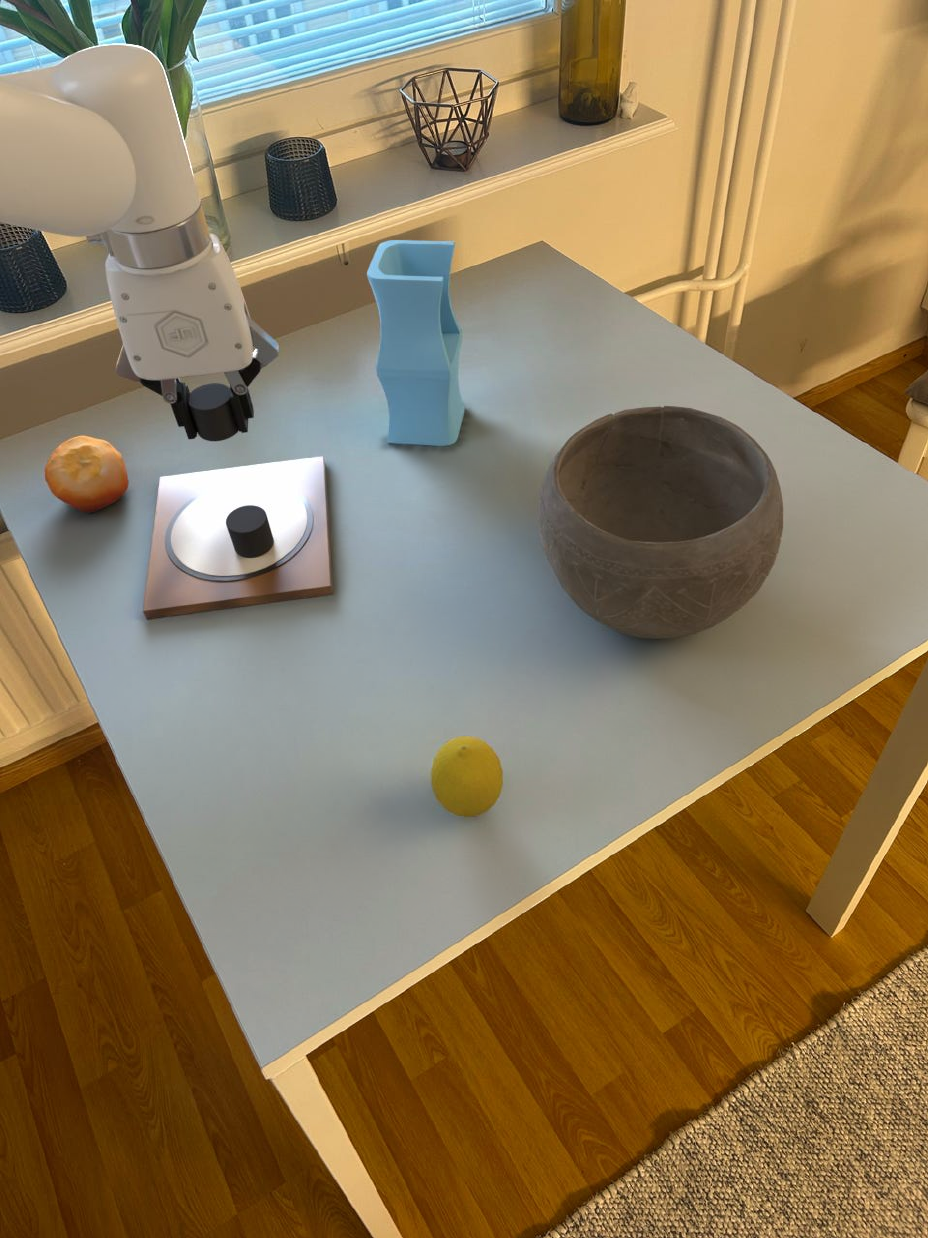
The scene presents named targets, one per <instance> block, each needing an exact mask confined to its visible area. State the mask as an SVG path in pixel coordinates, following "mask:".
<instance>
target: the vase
mask: <svg viewBox="0 0 928 1238" xmlns="http://www.w3.org/2000/svg"><path fill="white" fill-rule="evenodd" d="M455 247H456V241H455V240H417V239H415V240H414V239H413V240H412V239H388V240H385V241H382V242H381V243H379V244H378V246H377V248H376V250H375V252H374V255H373V258H372V260H371V261H370V264H369V266H368V269H367V272H366V276H367V279H368V282H369V284H370V287H371V289H372V293H373V295H374V298H375V302H376V306H377V308H378V314H379V319H380V340H379V341H380V342H379V349H378V355H377V359H376V366H375V370H376V376H377V379H378V381H379V383H380V385H381V388H382V390H383V393H384V396H385V399H386V402H387V407H388V417H389V418H388V432H387V433H388V434H387V441H386V444H399V445H400V444H401V445H417V446H434V447H445V446H447V447H448V446H452V445H453V444H455V443H456V442H457V441H458V438H459V435H460V430H461V427H462V423H463V419H464V415H465V412H466V411H465V410H466V409H465V404H464V403H463V402H464V401H463V398H462V394H461V389H460V383H459V366H460V365H459V364H460V363H459V362H460V356H461V355H460V353H461V348H462V342H463V330H462V327H461V325H460V323H459V321H458V319H457V316H456V314H455V312H454V309H453V305H452V300H451V294H450V279H451V271H452V263H453V257H454V252H455Z"/></svg>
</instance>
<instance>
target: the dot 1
mask: <svg viewBox="0 0 928 1238" xmlns="http://www.w3.org/2000/svg"><path fill="white" fill-rule="evenodd" d="M187 403H188V406H189V409H190V412H191V415H192V418H193V421H194V424H195V427H196V430H197V436H199V438H201V439H202V440H204V441H208V442H222V441H225V440H228V439H231V438H232V437H234V436H235V435H237V434H238V433H239V429H238V426H237V423H236V419H235V416H234V412H233V409H232V406H231V402H230V386H228V385H227V384H224V383H220V382H219V383H218V382H215V383H214V382H211V383H206V384H202V385H200V386H198V387H196V388H193V390H191V391H190V394H189V395H188V400H187Z"/></svg>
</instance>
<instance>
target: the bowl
mask: <svg viewBox="0 0 928 1238" xmlns="http://www.w3.org/2000/svg"><path fill="white" fill-rule="evenodd" d="M542 481H543V482H542V484H541V488H540V493H539V500H538V501H539V502H538V529H539V537H540V542H541V546H542V549H543V552H544V554H545V556H546V558H547V561H548V563H549V565H550V567H551V569H552V571H553V572H554V575H555V577H556V578H557V580H558V583H559V585H560V586H561V588H562V589H563V590H564V591H565V592H566V594H567V595H568V596H569V597H570V599H571V600H572V601H573V602H574V603H575V604H576V605H577V607H578V608H579V609H580V610H582V611H583V612H584V613H585V614H586V615H588V616H590V617H591V618H592V619H594V620H595V621H596V622H598V623H600V624H602V625H604V626H606V627H607V628H610V629H611V630H613V631H617V632H619V633H622V634H625V635H629V636H632V637H637V638H640V639H652V640H653V639H656V640H657V639H674V638H675V639H676V638H681V637H685V636H689V635H694V634H696V633H697V634H698V633H700V632H702V631H705V630H707V629H710V628H713V627H715V626H717V625H719V624H720V623H722V622H724V621H725V620H727V619H728V618H729V617H731V616H733V615H734V614H736V613H737V612H738V611H739V610H740V609H742V608H743V607H744V606H746V604H747V603H748V602H749V601H751V599H752V598H754V596H755V595H757V593H758V592H759V591H760V590H761V587H762V586H763V584H764V583H765V581H766V579H767V577H768V576H769V575H770V572H771V571H772V569H773V568H774V566H775V563H776V560H777V557H778V554H779V550H780V547H781V542H782V540H781V539H782V535H783V529H784V504H783V494H782V489H781V484H780V481H779V478H778V473H777V471H776V469H775V467H774V465H773V462H772V460H771V458H770V457H769V455H768V454H767V453H766V451H765V450H764V449H763V447H762V446H761V445H760V444H758V441H756V440H755V439H754V438H753V436H751V435H750V434H749V433H747V432H746V431H745V430H744V429H743V428H741V427H740V426H739V425H737V424H736V423H733V422H731V421H730V420H728V419H726V418H723V417H722V416H719V415H715V414H712V413H709V412H705V411H702V410H699V409H695V408H691V407H686V406H674V405H664V406H663V407H662V406H649V407H648V406H645V407H644V406H643V407H636V408H629V409H624V410H621V411H620V410H619V411H617V412H615V413H608V414H605V415H603V416H601V417H600V418H597V419H595V420H593V421H592V422H590V423H589V424H587V425H585V426H584V427H582V428H581V429H579V430H578V431H577V432H575V433H573V434H572V435H571V436H570V437H569V438H568V439H567V440H566V442H565V443H564V444H563V446H562V447H561V448H559V451H558V452H557V453H556V455H554V458H553V460H552V462H551V464H550V465H549V467H548V469H547V471H546V473H545V476H544V478H543V480H542Z"/></svg>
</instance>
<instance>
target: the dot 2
mask: <svg viewBox="0 0 928 1238" xmlns="http://www.w3.org/2000/svg"><path fill="white" fill-rule="evenodd" d="M226 526H227V529H228V532H229V535H230V538H231V540H232V543H233V546H234V549H235V552H236V553H237V554H238V555H240V556H241V557H245V558H256V557H260V556H262V555H264V554H266V553H267V552H268V551H270V549H271V548H272V546H273V544H274V539H273V535H272V532H271V528H270V525H269V521H268V518H267V514H266V512H265V511H264V509H262V508H261V507H259V506H255V505H246V506H241V507H239V508H236V509H235V510H233V511H232V512H231V513H230V514H229V515H228V516H227V519H226Z"/></svg>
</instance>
